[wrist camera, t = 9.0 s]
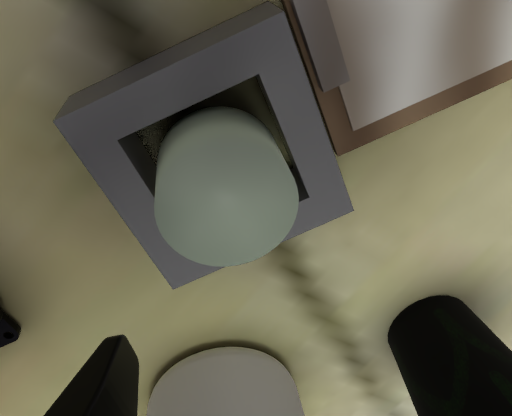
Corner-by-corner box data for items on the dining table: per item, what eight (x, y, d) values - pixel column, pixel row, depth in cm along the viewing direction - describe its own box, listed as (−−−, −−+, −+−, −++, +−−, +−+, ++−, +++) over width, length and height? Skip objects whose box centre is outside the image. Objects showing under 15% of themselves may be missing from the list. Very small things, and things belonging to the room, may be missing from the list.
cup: (348, 345, 29) (442, 562, 19) (434, 263, 27) (595, 463, 17) (423, 380, 32) (537, 582, 22) (506, 310, 30) (677, 501, 20)
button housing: (172, 251, 23) (173, 289, 21) (69, 96, 19) (52, 121, 16) (333, 180, 23) (353, 210, 20) (268, 0, 18) (283, 10, 15)
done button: (191, 234, 20) (195, 285, 17) (133, 139, 17) (125, 180, 14) (295, 188, 20) (317, 232, 17) (250, 84, 17) (267, 115, 14)
